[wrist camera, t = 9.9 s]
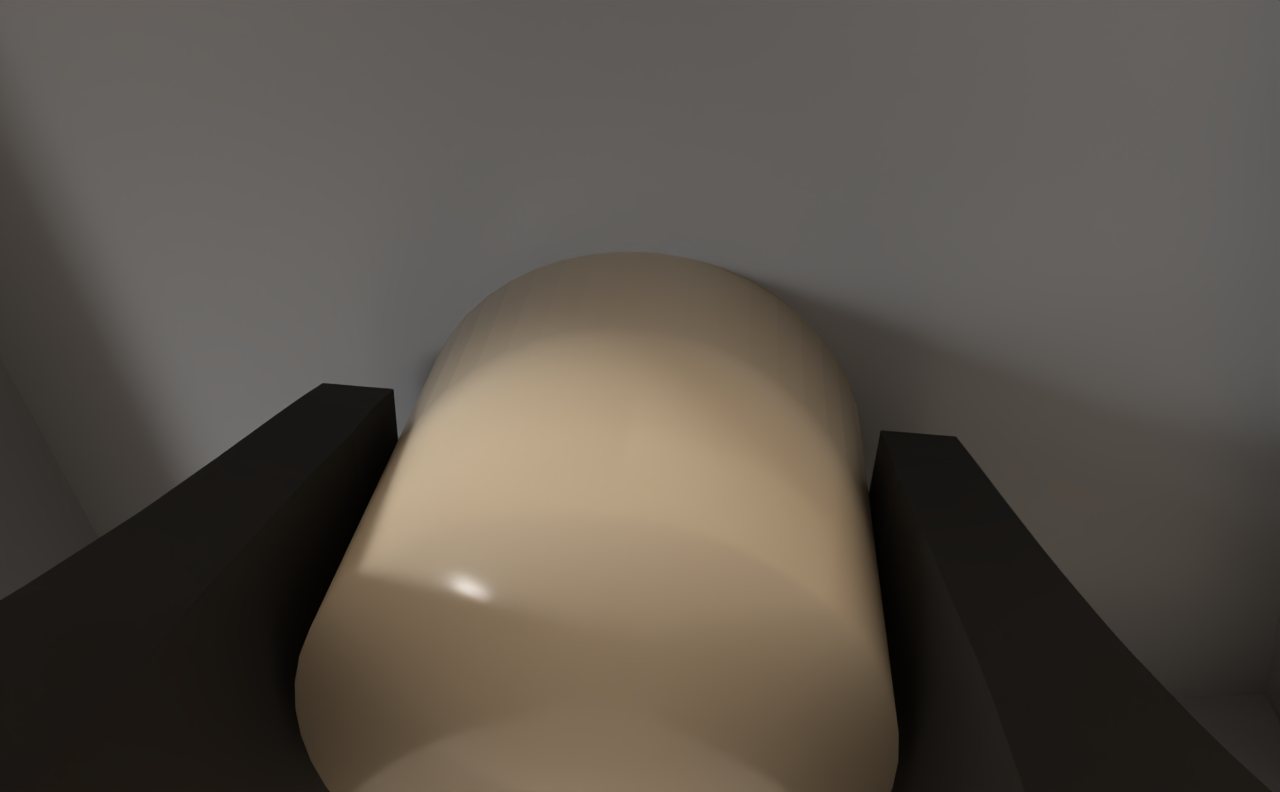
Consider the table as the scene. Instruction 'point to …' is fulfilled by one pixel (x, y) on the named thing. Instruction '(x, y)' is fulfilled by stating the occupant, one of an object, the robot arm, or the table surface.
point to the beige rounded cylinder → (613, 556)
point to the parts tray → (681, 248)
